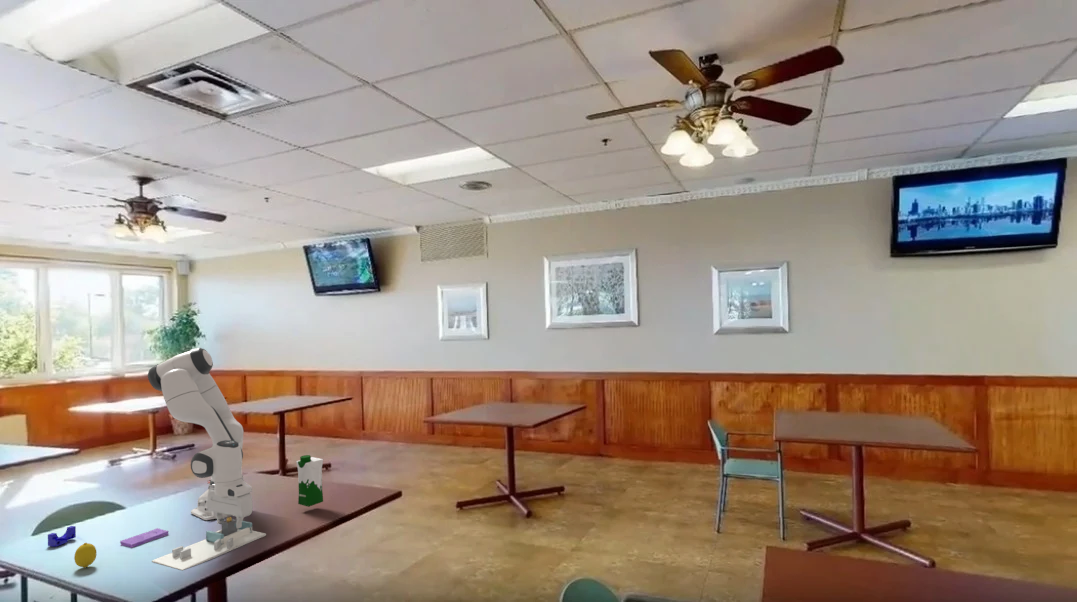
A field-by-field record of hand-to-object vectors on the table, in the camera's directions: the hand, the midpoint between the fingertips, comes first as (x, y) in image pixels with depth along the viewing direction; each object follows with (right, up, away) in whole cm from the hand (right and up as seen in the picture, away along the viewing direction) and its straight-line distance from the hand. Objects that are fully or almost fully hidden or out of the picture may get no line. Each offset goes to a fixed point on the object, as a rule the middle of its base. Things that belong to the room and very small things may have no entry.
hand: (229, 525), depth 201 cm
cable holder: (-60, -6, +1) cm, 61 cm away
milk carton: (+15, -5, +35) cm, 38 cm away
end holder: (0, -4, 0) cm, 4 cm away
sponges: (-31, -6, +1) cm, 32 cm away
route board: (-2, -5, -8) cm, 9 cm away
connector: (0, -3, 0) cm, 3 cm away
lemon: (-35, -5, -21) cm, 41 cm away
